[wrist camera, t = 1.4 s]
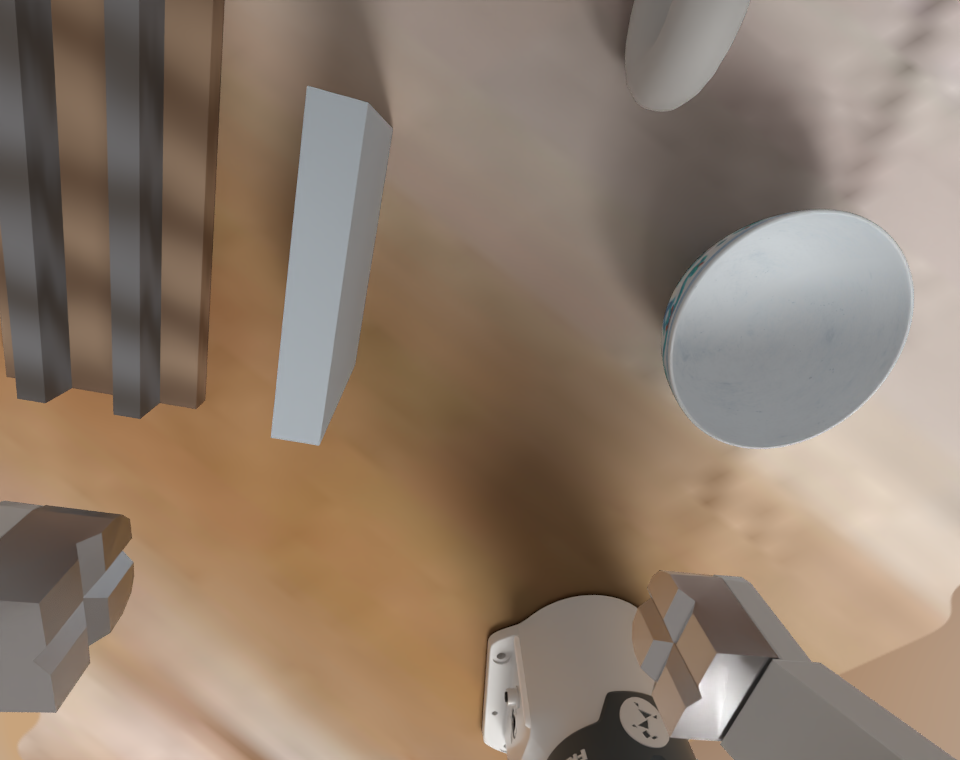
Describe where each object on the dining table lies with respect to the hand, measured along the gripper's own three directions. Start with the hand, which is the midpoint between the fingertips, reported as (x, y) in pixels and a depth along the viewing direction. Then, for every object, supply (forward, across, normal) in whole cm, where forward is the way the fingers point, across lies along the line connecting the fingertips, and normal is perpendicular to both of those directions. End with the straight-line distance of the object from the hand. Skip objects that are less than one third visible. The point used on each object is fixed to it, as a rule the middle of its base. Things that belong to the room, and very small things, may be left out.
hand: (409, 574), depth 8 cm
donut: (+29, -11, -16) cm, 35 cm away
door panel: (+29, +5, +1) cm, 29 cm away
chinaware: (+28, -22, -1) cm, 36 cm away
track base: (+29, +20, 0) cm, 35 cm away
